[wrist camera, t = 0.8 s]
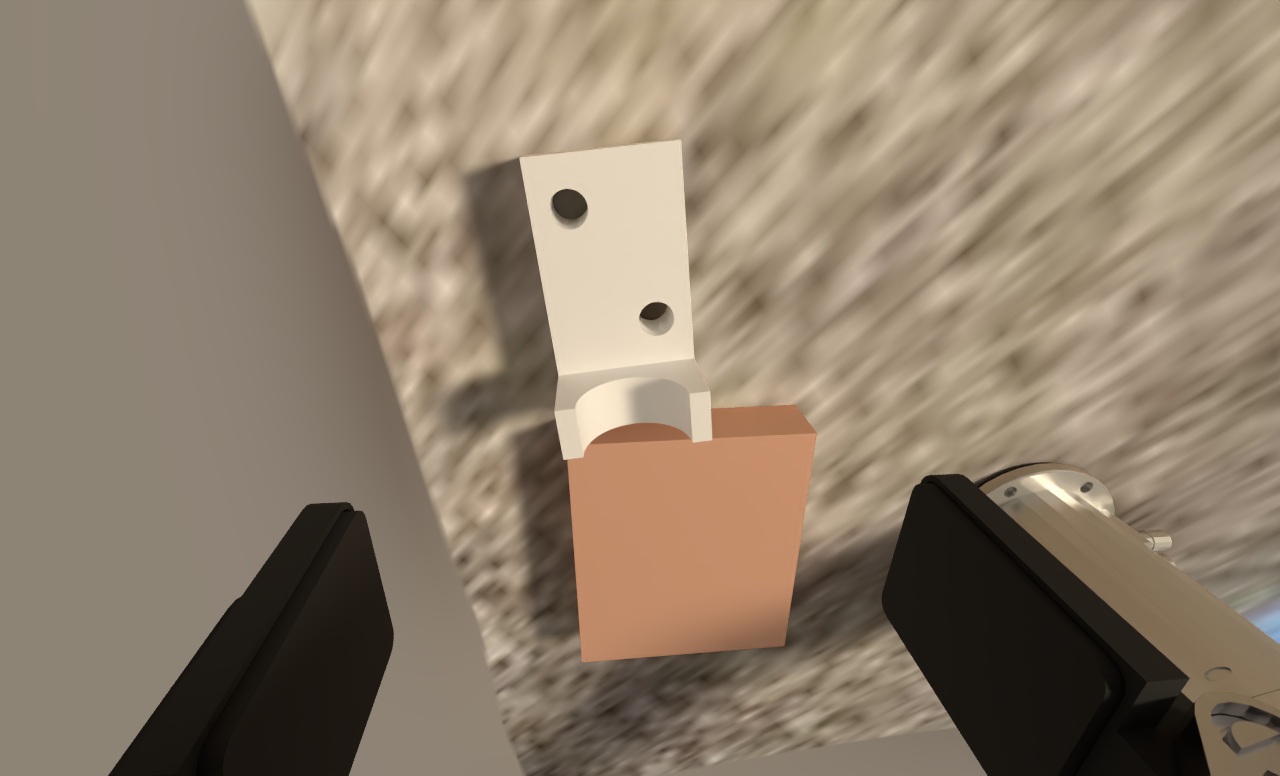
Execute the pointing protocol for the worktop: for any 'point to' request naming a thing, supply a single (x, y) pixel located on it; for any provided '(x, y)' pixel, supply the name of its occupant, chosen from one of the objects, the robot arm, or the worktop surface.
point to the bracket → (617, 290)
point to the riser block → (690, 534)
